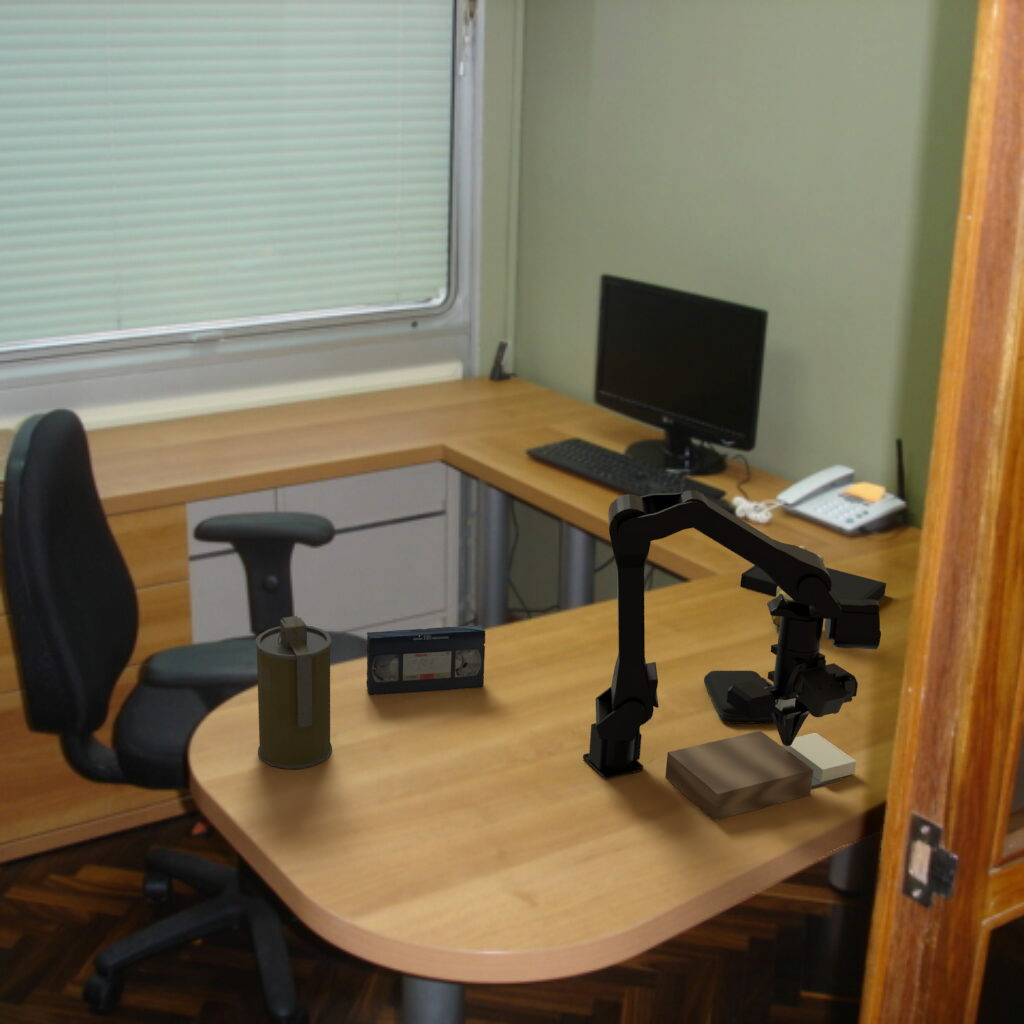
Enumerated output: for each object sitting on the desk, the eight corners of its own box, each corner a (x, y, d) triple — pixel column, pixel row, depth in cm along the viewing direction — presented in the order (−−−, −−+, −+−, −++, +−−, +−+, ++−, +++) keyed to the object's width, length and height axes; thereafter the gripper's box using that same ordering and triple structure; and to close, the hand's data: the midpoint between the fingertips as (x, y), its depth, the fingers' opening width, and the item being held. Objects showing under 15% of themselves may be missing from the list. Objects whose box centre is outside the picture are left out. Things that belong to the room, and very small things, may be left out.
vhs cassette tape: (367, 696, 212) (368, 637, 209) (365, 687, 215) (366, 629, 212) (484, 689, 216) (486, 632, 213) (481, 681, 219) (483, 624, 216)
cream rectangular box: (856, 761, 195) (854, 773, 195) (815, 732, 202) (814, 744, 203) (823, 769, 192) (821, 782, 193) (783, 740, 200) (781, 752, 200)
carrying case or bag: (789, 727, 209) (765, 683, 223) (791, 709, 208) (767, 666, 222) (720, 727, 208) (700, 683, 222) (722, 709, 207) (702, 666, 221)
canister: (250, 739, 198) (247, 612, 191) (320, 728, 202) (320, 603, 195) (268, 776, 189) (265, 644, 182) (341, 763, 193) (341, 634, 186)
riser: (714, 820, 183) (717, 794, 182) (665, 777, 193) (667, 752, 192) (810, 795, 190) (813, 769, 189) (757, 754, 200) (760, 730, 199)
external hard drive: (855, 621, 248) (857, 605, 247) (739, 588, 261) (741, 573, 260) (884, 597, 260) (886, 582, 258) (771, 567, 272) (773, 553, 271)
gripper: (780, 680, 177) (768, 786, 182) (891, 656, 186) (876, 758, 191) (730, 645, 187) (719, 747, 192) (837, 624, 195) (824, 722, 200)
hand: (786, 744), depth 193 cm, fingers closed
